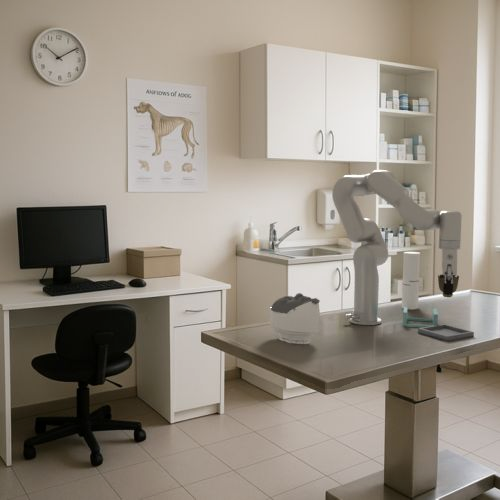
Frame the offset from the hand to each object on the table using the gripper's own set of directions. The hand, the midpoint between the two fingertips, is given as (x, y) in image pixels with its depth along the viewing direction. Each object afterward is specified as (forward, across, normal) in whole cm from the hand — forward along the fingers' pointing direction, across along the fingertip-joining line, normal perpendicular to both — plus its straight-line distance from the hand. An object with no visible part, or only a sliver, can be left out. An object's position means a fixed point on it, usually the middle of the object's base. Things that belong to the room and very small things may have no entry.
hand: (447, 292), depth 226 cm
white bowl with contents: (+16, -24, +52) cm, 60 cm away
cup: (+2, 0, 0) cm, 2 cm away
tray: (+16, 0, 0) cm, 16 cm away
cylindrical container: (+16, +46, +14) cm, 51 cm away
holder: (+16, +15, +9) cm, 24 cm away
